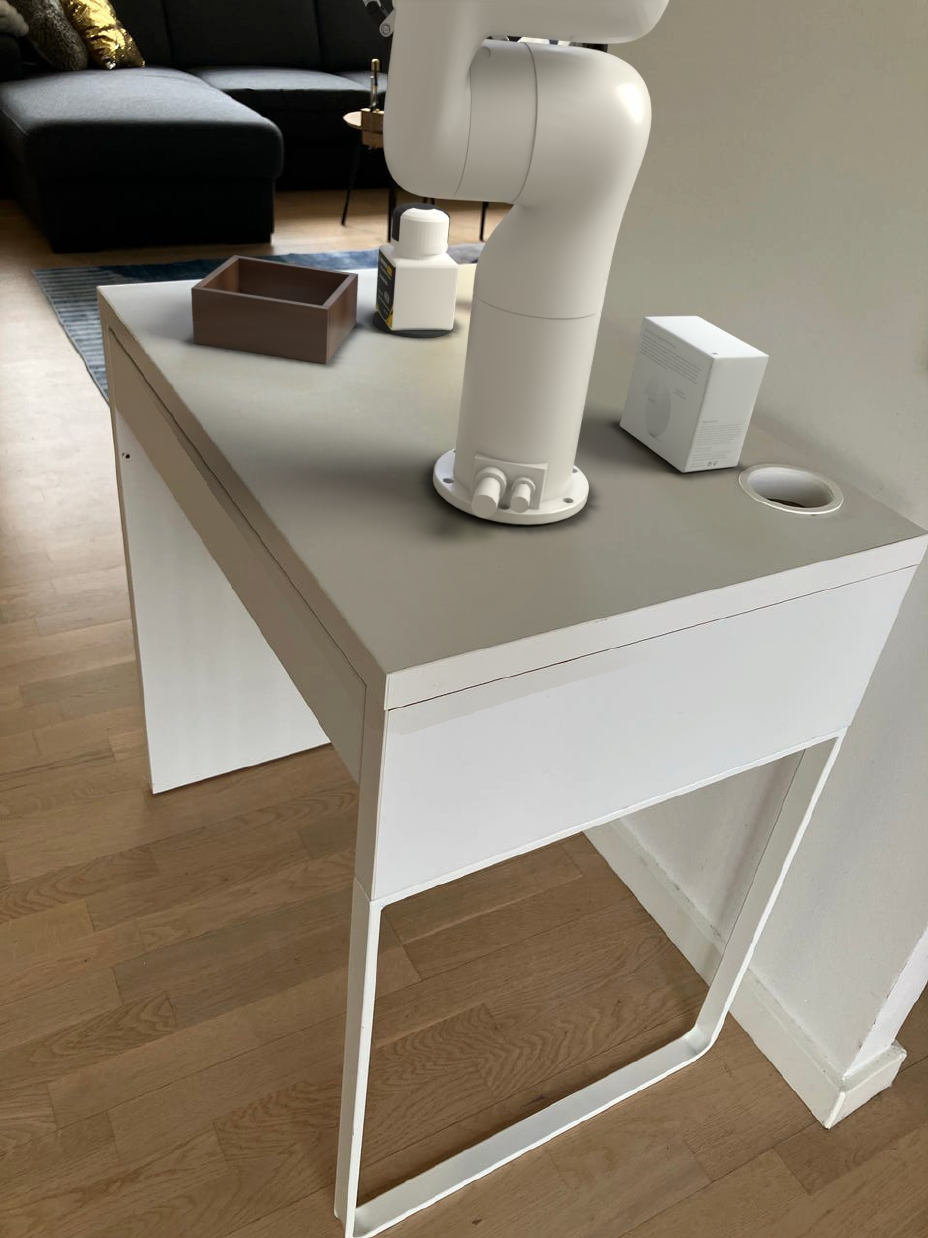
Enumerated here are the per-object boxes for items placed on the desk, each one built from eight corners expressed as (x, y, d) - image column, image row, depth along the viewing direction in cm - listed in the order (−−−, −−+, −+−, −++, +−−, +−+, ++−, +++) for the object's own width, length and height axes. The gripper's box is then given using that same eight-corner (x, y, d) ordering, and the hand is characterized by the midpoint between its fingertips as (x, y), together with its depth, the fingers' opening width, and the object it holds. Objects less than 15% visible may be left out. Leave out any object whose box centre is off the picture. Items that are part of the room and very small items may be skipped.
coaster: (446, 342, 110) (446, 339, 110) (364, 329, 111) (364, 326, 110) (459, 317, 118) (459, 313, 117) (382, 305, 118) (382, 301, 118)
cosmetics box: (740, 467, 92) (773, 353, 86) (682, 475, 89) (711, 358, 83) (673, 419, 99) (698, 311, 93) (617, 425, 97) (640, 315, 91)
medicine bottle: (374, 308, 116) (380, 196, 109) (435, 309, 118) (445, 199, 111) (390, 331, 110) (397, 214, 103) (453, 331, 112) (465, 216, 105)
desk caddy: (326, 364, 101) (327, 309, 98) (193, 343, 102) (190, 287, 99) (356, 324, 112) (358, 273, 109) (235, 305, 113) (234, 254, 110)
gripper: (352, -144, 87) (345, 82, 96) (555, -121, 86) (527, 106, 95) (372, -137, 93) (363, 75, 102) (561, -115, 92) (534, 97, 101)
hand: (442, 90), depth 99 cm, fingers open, 9 cm apart
